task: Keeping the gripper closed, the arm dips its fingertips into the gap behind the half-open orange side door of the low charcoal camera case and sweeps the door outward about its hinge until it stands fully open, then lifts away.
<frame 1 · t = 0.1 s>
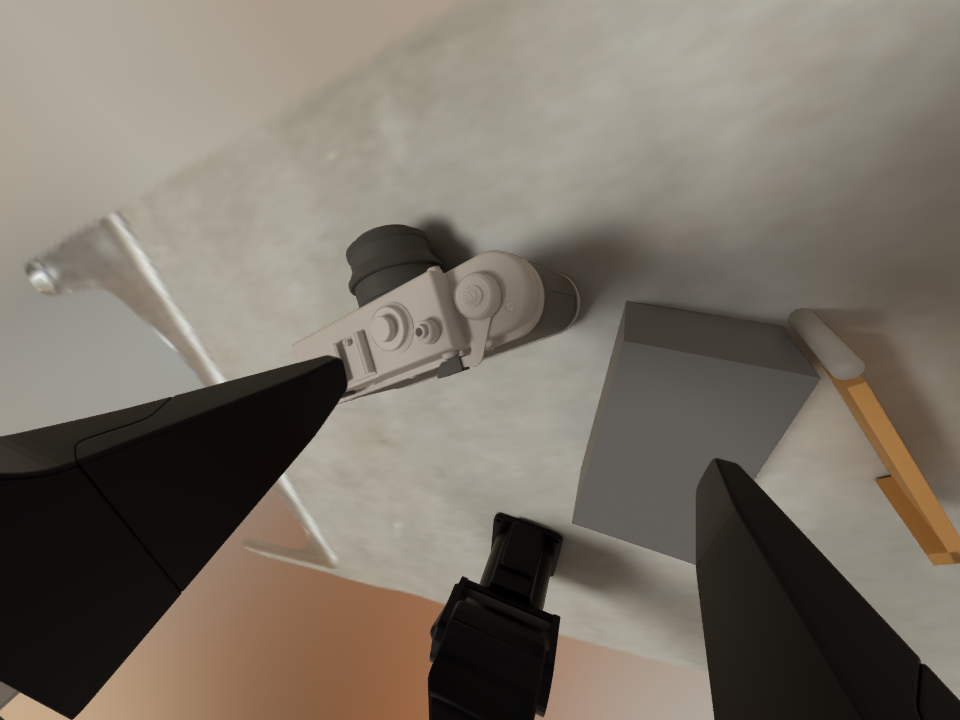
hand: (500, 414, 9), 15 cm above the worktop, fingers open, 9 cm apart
case: (660, 412, 23), on the worktop
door: (875, 445, 17), point 3 cm above the worktop, hinge at 45.0°
camera: (450, 285, 25), on the worktop
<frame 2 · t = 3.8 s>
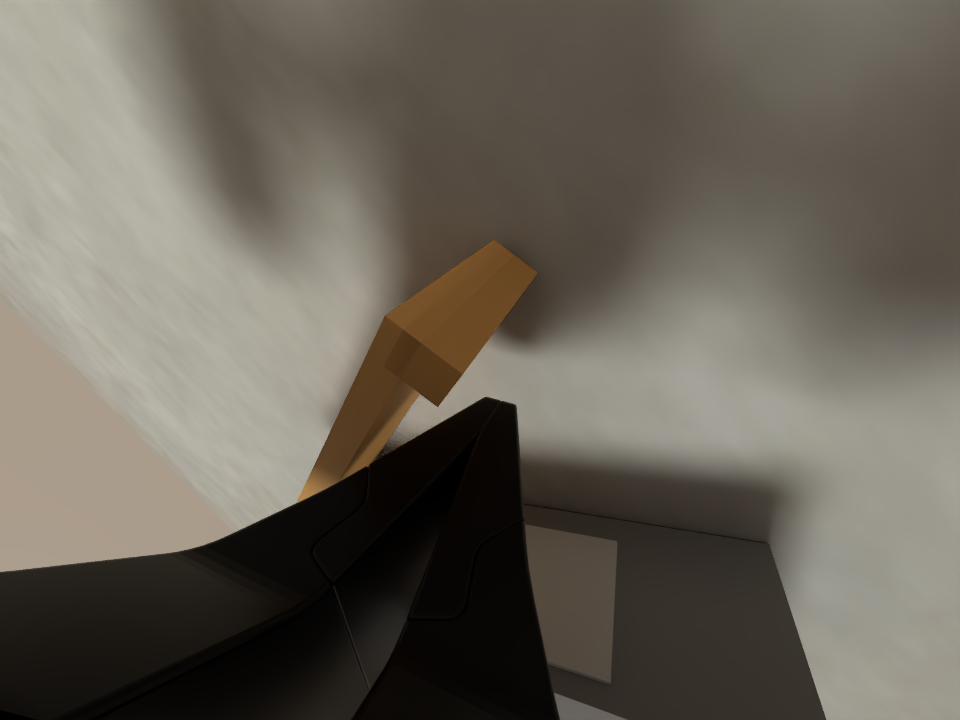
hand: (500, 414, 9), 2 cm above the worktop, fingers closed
case: (543, 569, 15), on the worktop
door: (384, 437, 10), point 2 cm above the worktop, hinge at 46.0°, touching gripper
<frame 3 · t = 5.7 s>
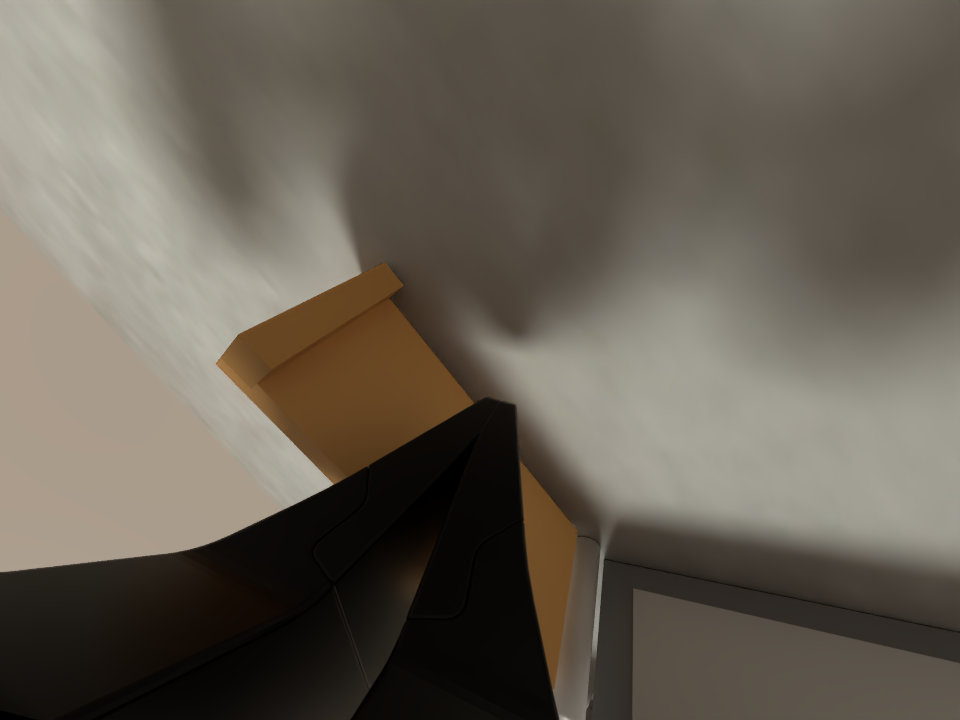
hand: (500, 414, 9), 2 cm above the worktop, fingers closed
case: (827, 674, 12), on the worktop
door: (457, 468, 10), point 3 cm above the worktop, hinge at 117.4°, touching gripper
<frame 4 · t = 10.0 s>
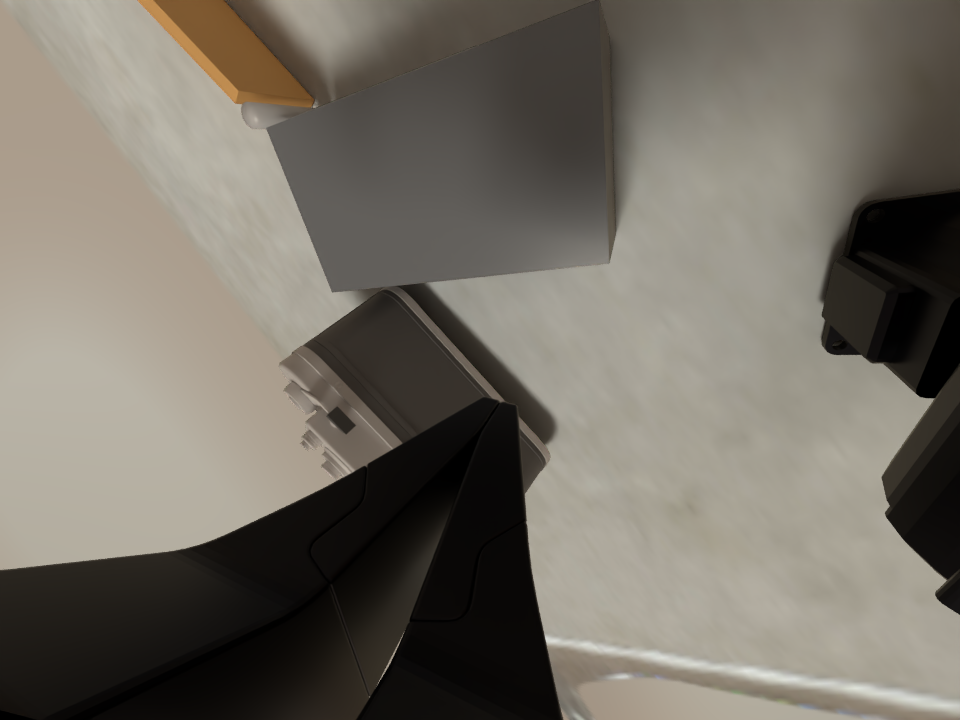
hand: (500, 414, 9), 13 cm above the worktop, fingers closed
case: (470, 179, 19), on the worktop
camera: (444, 389, 27), on the worktop
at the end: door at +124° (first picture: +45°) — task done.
